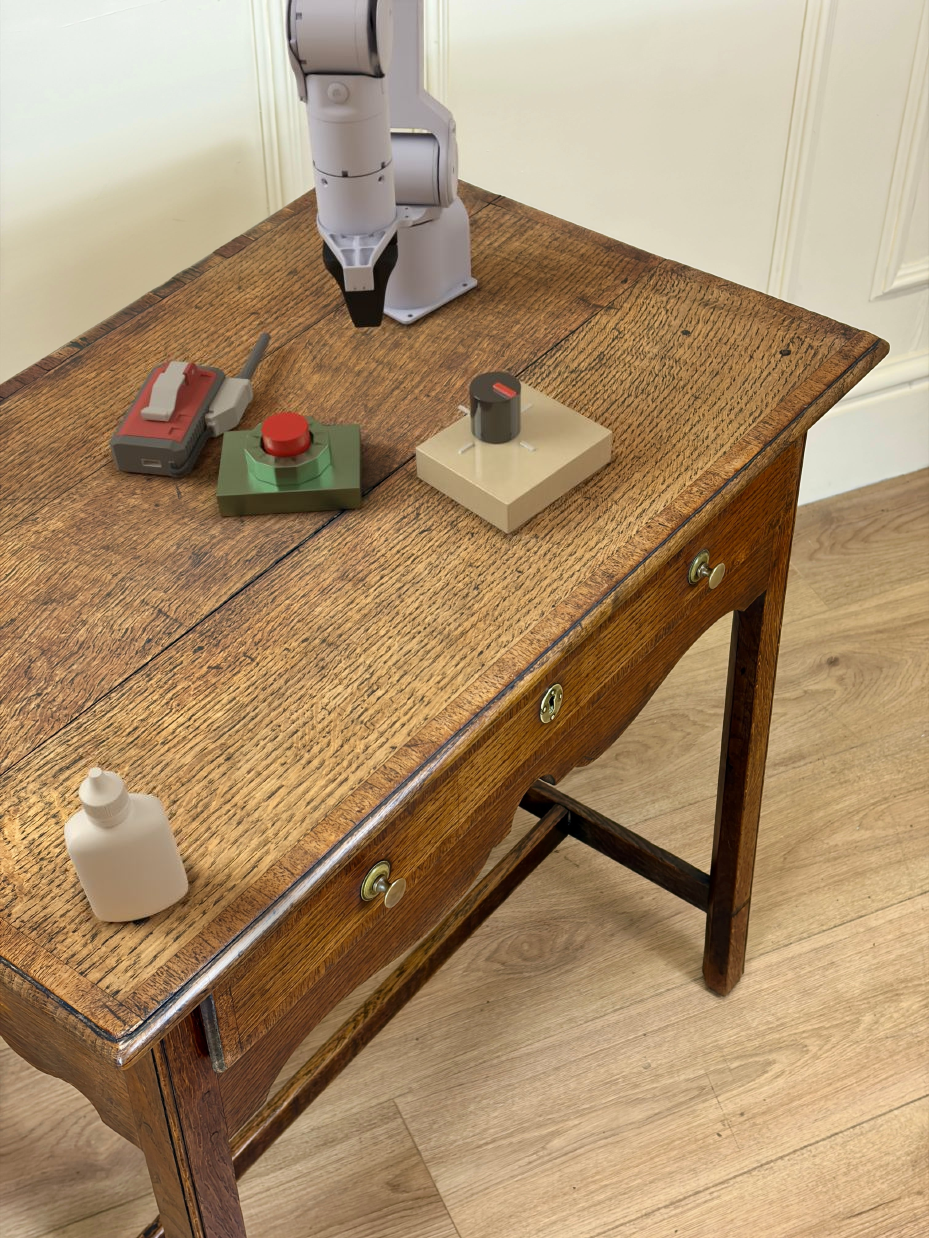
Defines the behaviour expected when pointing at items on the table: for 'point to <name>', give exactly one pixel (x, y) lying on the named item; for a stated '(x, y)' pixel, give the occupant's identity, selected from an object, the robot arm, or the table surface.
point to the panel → (515, 461)
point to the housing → (291, 473)
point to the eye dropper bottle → (124, 850)
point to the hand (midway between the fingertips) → (367, 322)
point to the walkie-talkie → (181, 414)
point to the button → (286, 434)
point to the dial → (495, 407)
